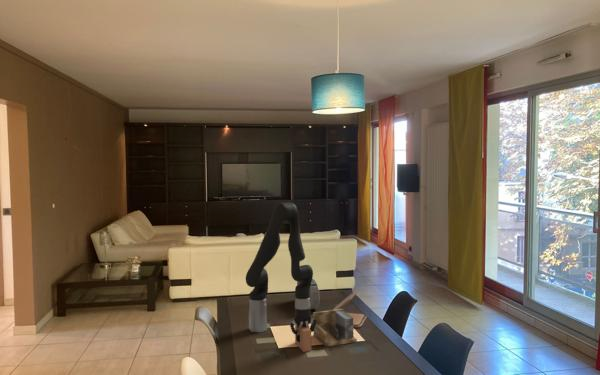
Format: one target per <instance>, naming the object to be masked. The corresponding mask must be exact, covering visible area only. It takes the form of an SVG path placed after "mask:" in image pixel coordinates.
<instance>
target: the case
mask: <svg viewBox="0 0 600 375" xmlns="http://www.w3.org/2000/svg"><path fill="white" fill-rule="evenodd" d="M357 292H358V290H354V291H353V292H352V293H351V294H349V295H348V296H347V297H346V298H344V299H343V300H342V301H341V302H340V303H338V304H337V305H336V306H335V307H334V308H332V310H337V309H344V307H346V306H347V305H348V304H350V303H351V302H352V300H353V298H355V297H356V295H357ZM346 313H347V314H348V315H350V316H351V317H353V329H355V328H356V329H359V328H362V326H363V324H364V323H365V322H366V319H367V318H368V316H367V315H366V314H363V313H355V312H346Z"/></svg>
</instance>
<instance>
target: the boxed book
mask: <svg viewBox="0 0 600 375" xmlns="http://www.w3.org/2000/svg"><path fill="white" fill-rule="evenodd" d="M296 327H297V324H296V323H295V325H294V328H295V331H296ZM309 328H310V327H309ZM309 328H308V327H302V328H300V334H299V335H300V342H298V341H297V340H296V334H294V339H295V341H294V342H295V344H296V345H297V347H298V348H299V349H300V350H301V351H302V353H306V352H311V351H312V332H311V330H310V329H309Z"/></svg>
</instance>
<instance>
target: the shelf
mask: <svg viewBox="0 0 600 375" xmlns="http://www.w3.org/2000/svg"><path fill="white" fill-rule="evenodd" d="M347 313H348V312H346V311H345V309H344V308H342V309H337V310H333V309H330V310H322V311H315V312H313V314H312V319H313V318H314V319H316V325H315V328H314V331H313V336H314V337H315V338H316V339H317V340H318V341H319V342H320V343H321V344H322V345H323V346H324V347H332V346H339V345H344V344H352V343H357V341H358V339H357V338H356V337H355V336H354V327H353V317H351V316H350V315H348V314H347Z"/></svg>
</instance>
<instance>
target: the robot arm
mask: <svg viewBox="0 0 600 375" xmlns="http://www.w3.org/2000/svg"><path fill="white" fill-rule="evenodd" d="M299 219H300V218H299V211H298V207H297V205H296V204H295V203H294V202H279V203H276V205H275V206H274V208H273V211H272V213H271V217H270V220H269V223H268V226H267V229H266V232H265V234H264V236H263V238H262V241H261V243H260V246H259V248H258V249H257V253H256V254H255V257H254V260H253V261H252V263H251V265H250V266H249V269H248V270H247V273H246V275H245V283H246V285H247V286H248V287H250V288H253V289H252V290H251V291H250V292H249V294H248V296H249V297H248V299H249V302H248V303H249V304H248V305H249V310H248V330H249V331H250V332H251V333H264V332H266V331H267V330H268V311H267V310H268V309H267V306H268V305H267V304H268V303H267V295H268V290H269V274H268V271H267V270H266V269H265V267H266V266H267V265H268V264H269V263H270V261H272V259H274V257H275V256H276V254H277V252H278V249H279V248H280V246H281V237H280V229H281V226H282V225H283V222H288V224H289V230H290V231H289V237H288V242H287V248H288V252H289V256H290V274H291V277H292V280H294V281H295V282H297V281H302V282H301V283H300V284H299V285H296V286H295V288H294V289H295V290H294V294H295V296H294V297H295V298H294V319H293V320H292V321H289V322H288V324H289V327H290V329H291V332H292V333H293V335H295V334H296V340H297V341H298V342H300V335H299V334H300V328H302V327H308V328H309V329H310V330H311V333H314V328H315V325H316V319H314V318H313V317H311V310H310V286H311V282H312V278H313V276H314V272H313V271H314V270H313V268H312V267H311V266H310V265H309V264H304V265H300V263H301V262H302V261H304V260H305V259H306V253H305V249H304V247H303V242H302V237H301V230H300V220H299ZM313 279H314V278H313ZM295 323H296V324H297V327H296V331H295Z"/></svg>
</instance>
